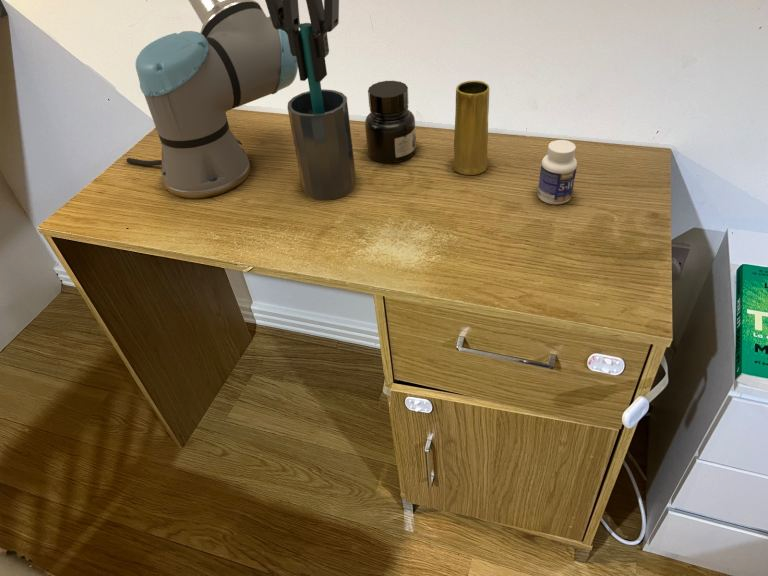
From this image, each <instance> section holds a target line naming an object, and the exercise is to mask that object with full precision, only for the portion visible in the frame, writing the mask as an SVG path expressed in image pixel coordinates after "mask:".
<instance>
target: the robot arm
mask: <svg viewBox="0 0 768 576" xmlns="http://www.w3.org/2000/svg"><path fill="white" fill-rule="evenodd" d="M264 1H265V4H266V7H267V11H268V13H269V16H267V15H266V13H265V12H264V10H263V8H262V6H261V5H260V3H259V2H258V1H256V0H188V2H189V4H190V6H191V7H192V9H193V11H194V12H195V14H196V16H197V18H198V19H199V20H200V23H201V24H202V25H201V28H200V32H199V31H194V30H184V31H180V32H179V33H177V32H173V33H170V34H166V35H164V36H161V37H159V38H157V39H155V40H154V41H151V42H149V43H148V44H147V45H146V46H145V47H143V48H142V49H141V50H140V52H139V54H137V57H136V59H135V70H136V73H137V77H138V82H139V87H140V88H139V89H140V90H141V93H142V94H143V96H144V99H145V101H146V104H147V106H148V110H149V112H150V115H151V119H152V121H153V124H154V127H155V129H156V132H157V135H158V138H159V140H160V141H159V142H160V144H161V159H156V160H144V159H138V158H132V157H126V160H125V161H126V163H127V164H132V165H139V166H146V167H153V166H154V167H155V166H161V178H162V181H163V184H164V187H165V189H166V190H167V192H169V193H170V194H172V195H173V196H176V197H179V198H182V199H183V198H184V199H203V198H204V199H205V198H210V197H211V198H212V197H215V196H218V195H222V194H224V193H226V192H229V191H231V190H233V189H235V188H236V187H238V186H239V185H241V184H242V183H243V182H244V181H246V179H247V178H248V176H249V175H250V172H251V164H250V161H249V157H248V155H247V152H245V150H244V149H243V148H242V146H243V144H242V142H241V141H240V140H239V139H237V138H236V136H235V135H234V133H233V132H232V130H231V128H230V124H229V121H228V117H227V113H226V112H228V111H231V110H234V109H236V108H238V107H241V106H244V105H246V104H249V103H251V102H254V101H257V100H259V99H262V98H265V97H268V96H270V95H275V94H277V93H278V92H279V91H281V90H283V89H285V88H288V87H289V86H290V85H292V84H293V83H294V81H295V79H296V77H297V74H299V75H298V76H299V81H301V82H305V81H306V80H308V77H307V71H306V64H305V58H304V52H303V45H302V39H301V33H300V25H301V24H303V23H301V22H300V20H301V19H300V10H299V0H264ZM305 2H306V7H307V11H308V15H309V20H310V23H311V25H312V30H313V33H311V35H310V36H309V42H310V49H311V56H312V62H313V69H314V76H315V82H320V83H322V81H323V80H324V79H325V78H326V77H327V75H328V72H327V71H328V70H327V64H326V63H327V62H326V57H327V56H328V55H329V54H330V45H329V39H328V33H330V32H332V31H333V30H334V29H336V27H337V26H338V25H339V24H340V0H305Z"/></svg>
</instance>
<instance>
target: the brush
mask: <svg viewBox="0 0 768 576" xmlns="http://www.w3.org/2000/svg"><path fill="white" fill-rule="evenodd" d="M300 24H301V23H300ZM299 30H300V33H301V39H302V45H303V52H304V58H305V64H306V71H307V77H308V78H307V82H308V89H309V90H308V91H310V96H311V103H312V109H313V114H320V113H325V111H324V104H323V97H322V85H321V83H322V82H315V76H314V69H313V62H312V56H311V49H310V42H309V36H310V35H311V33H313V30H312V25H311V22H304V23H302V24H301V25H300V28H299Z"/></svg>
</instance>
